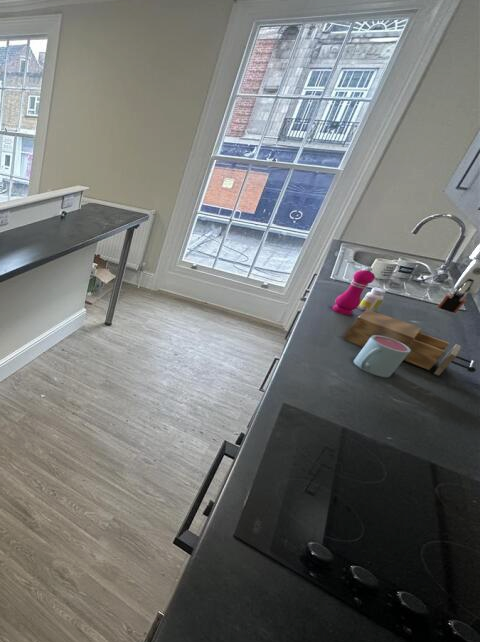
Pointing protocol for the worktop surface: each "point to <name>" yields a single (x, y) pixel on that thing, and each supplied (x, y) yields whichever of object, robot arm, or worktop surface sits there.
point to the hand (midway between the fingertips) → (448, 308)
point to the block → (449, 297)
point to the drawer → (434, 354)
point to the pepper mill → (353, 292)
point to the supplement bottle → (372, 300)
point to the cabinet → (380, 329)
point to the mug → (381, 355)
